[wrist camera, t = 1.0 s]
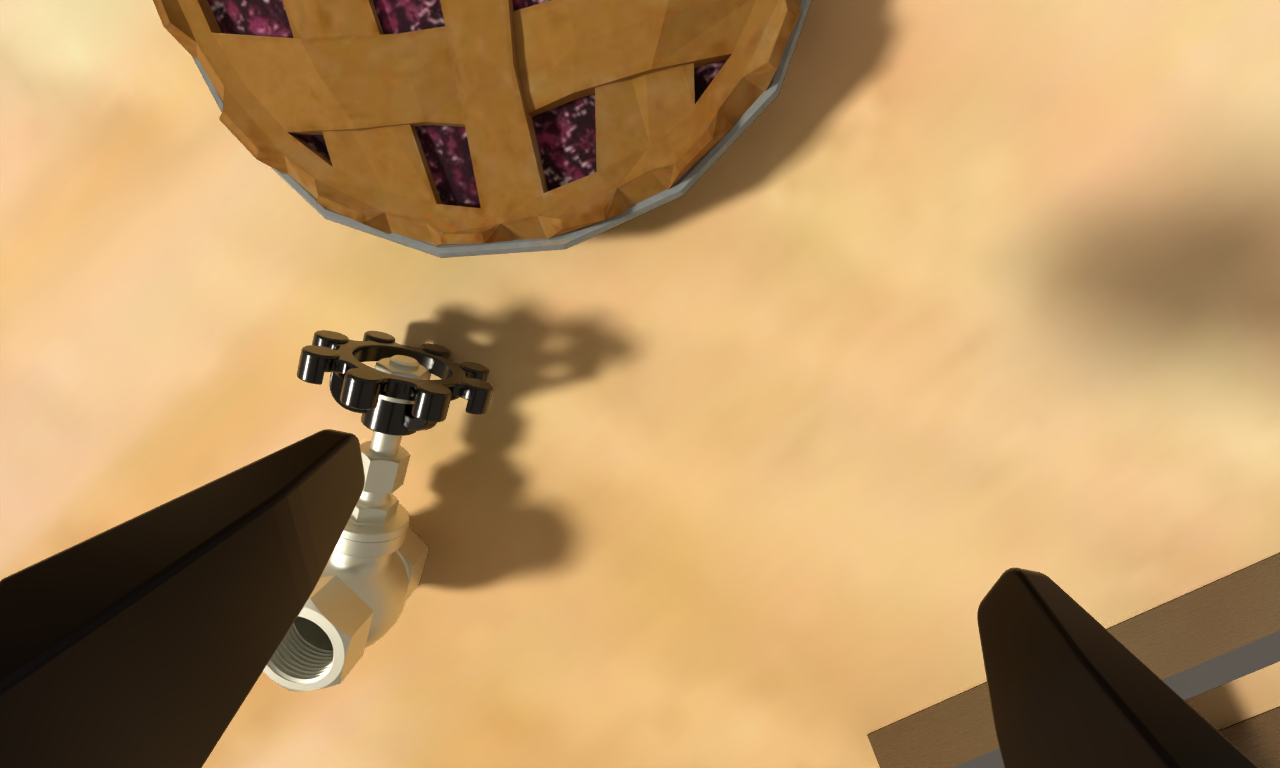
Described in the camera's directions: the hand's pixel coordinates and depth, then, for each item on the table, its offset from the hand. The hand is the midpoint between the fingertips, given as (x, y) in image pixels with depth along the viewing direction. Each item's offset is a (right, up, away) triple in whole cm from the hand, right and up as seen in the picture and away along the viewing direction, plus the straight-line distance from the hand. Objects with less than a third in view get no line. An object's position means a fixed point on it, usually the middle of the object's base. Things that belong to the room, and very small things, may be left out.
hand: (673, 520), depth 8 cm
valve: (-10, -2, +18) cm, 21 cm away
